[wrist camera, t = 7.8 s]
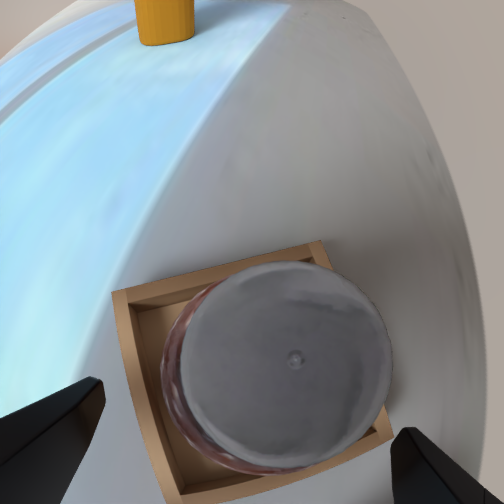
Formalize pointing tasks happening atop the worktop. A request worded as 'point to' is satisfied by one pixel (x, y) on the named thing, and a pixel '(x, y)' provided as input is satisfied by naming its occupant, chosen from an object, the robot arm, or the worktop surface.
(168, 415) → the tray
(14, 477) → the robot arm
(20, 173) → the worktop surface
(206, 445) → the supplement bottle
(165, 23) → the flashlight
